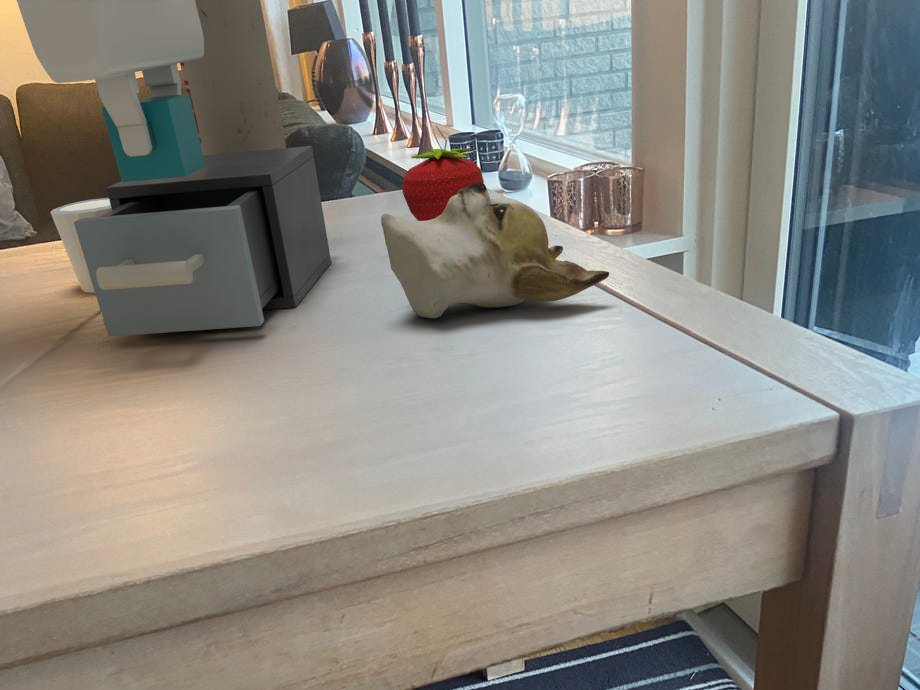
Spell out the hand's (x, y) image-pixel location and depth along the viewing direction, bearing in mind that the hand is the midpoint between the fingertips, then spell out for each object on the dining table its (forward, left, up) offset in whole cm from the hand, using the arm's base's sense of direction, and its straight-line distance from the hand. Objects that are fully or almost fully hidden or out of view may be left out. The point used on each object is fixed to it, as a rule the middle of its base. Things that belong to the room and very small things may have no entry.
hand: (157, 148), depth 65 cm
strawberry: (+17, +21, -12) cm, 29 cm away
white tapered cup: (-13, +16, -12) cm, 24 cm away
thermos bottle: (-2, +27, -12) cm, 29 cm away
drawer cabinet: (0, +12, -12) cm, 17 cm away
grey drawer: (0, +1, -11) cm, 11 cm away
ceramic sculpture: (+22, +1, -12) cm, 25 cm away
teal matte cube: (0, 0, -2) cm, 2 cm away
